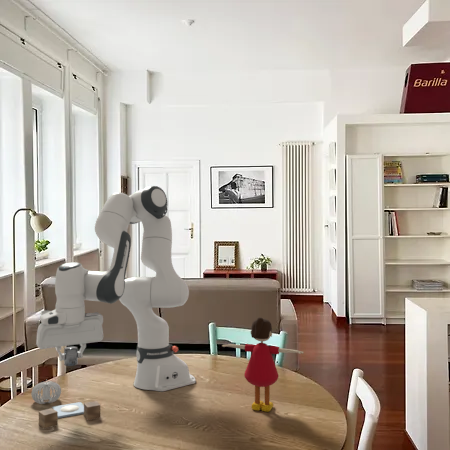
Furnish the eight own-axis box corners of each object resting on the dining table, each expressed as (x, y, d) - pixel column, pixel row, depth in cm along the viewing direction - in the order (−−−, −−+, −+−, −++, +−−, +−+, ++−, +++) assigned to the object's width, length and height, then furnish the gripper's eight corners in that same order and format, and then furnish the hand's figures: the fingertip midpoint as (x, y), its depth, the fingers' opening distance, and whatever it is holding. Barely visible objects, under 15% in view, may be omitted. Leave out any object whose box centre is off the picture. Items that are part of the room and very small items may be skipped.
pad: (80, 403, 174) (80, 401, 174) (87, 413, 166) (87, 410, 166) (52, 408, 170) (52, 406, 170) (58, 418, 162) (58, 416, 162)
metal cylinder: (79, 364, 166) (78, 349, 166) (66, 366, 164) (65, 350, 164) (75, 361, 170) (75, 345, 170) (63, 363, 168) (62, 347, 168)
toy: (305, 409, 169) (306, 315, 169) (299, 422, 159) (299, 322, 158) (226, 399, 178) (227, 310, 177) (215, 411, 168) (215, 316, 167)
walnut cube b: (51, 421, 160) (51, 408, 160) (57, 425, 157) (57, 411, 157) (38, 424, 157) (38, 411, 157) (44, 428, 154) (44, 415, 154)
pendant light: (52, 407, 171) (51, 314, 170) (25, 405, 172) (24, 313, 172) (66, 397, 180) (65, 309, 179) (41, 395, 182) (40, 308, 181)
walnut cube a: (96, 413, 166) (96, 400, 166) (100, 418, 162) (100, 405, 162) (83, 415, 164) (83, 403, 164) (87, 420, 161) (87, 407, 160)
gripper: (100, 309, 174) (100, 351, 175) (34, 316, 164) (35, 360, 165) (105, 313, 169) (106, 356, 169) (38, 320, 159) (39, 366, 159)
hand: (70, 358), depth 167 cm, fingers closed on metal cylinder, 4 cm apart
